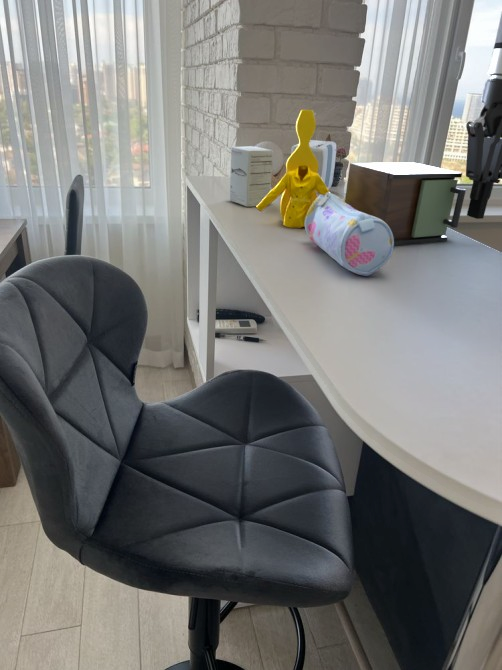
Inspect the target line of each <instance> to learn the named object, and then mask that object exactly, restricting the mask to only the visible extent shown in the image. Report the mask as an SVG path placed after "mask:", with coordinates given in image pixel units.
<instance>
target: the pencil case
mask: <svg viewBox="0 0 502 670" xmlns="http://www.w3.org/2000/svg"><path fill="white" fill-rule="evenodd" d="M304 229H305V232H306V234H307V236H308V238H309V239H310V240H311V242H313V243H314V244H315V245H316V246H317V247H319V249H321V250H323V252H325V253H326V254H327V255H328V256H329V257H330V258H331V259H333V260H334V261H335V262H337V263H338V264H339V265H340V266H341V267H343V268H344V269H346V270H348V271H350V272H352V273H354V274H356V275H359V276H363V277H366V276H371V275H372V274H374V273H376V272H377V271H379V270H380V269H381V268H382V267H383V266H384V265H385V264H386V263H387V262H388V261H389V260H390V258H391V256H392V254H393V251H394V247H395V246H394V238H393V234H392V231H391V229H390V228H389V226H388V225H387V224H386V223H385V222H384V221H383V220H381V219H379V218H377V217H374V216H371V215H368V214H366V213H363V212H360V211H358V210H356V209H354V208H353V207H351V206H350V205H348V204H346V202H345V199H342V197H340V196H338V195H337V194H335V193H331V191H330V192H328V193H326V195H319V197H318V198H316V199H315V201H314V202H313V204H312V205H311V207H310V208H309V210H308V213H307V215H306V219H305V227H304Z"/></svg>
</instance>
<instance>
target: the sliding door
mask: <svg viewBox="0 0 502 670" xmlns="http://www.w3.org/2000/svg"><path fill="white" fill-rule="evenodd" d="M458 181H459V180H458V179H457V178H455V179H432V180H422V184H421V189H420V194H419V199H418V204H417V209H416V215H415V220H414V225H413V230H412V235H411V237H426V236H438V235H442V236H446V234H447V230H448V226H450V228H458V227H459V221H460V217H461V213H462V208H463V204H464V200H465V196H466V192H467V190H466V189H465V188H458V187H457V186H458ZM455 194H456V195H457V196H456V195H455ZM455 196H456V201H455V206H454V210H453V214H452V219H450V217H451V213H452V208H453V204H454V199H455Z"/></svg>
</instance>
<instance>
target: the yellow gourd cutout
mask: <svg viewBox="0 0 502 670" xmlns="http://www.w3.org/2000/svg"><path fill="white" fill-rule="evenodd" d="M313 113H314V117H315V116H316V115H317V113H316V112H313ZM298 145H299V143H297V144H294V145H292V146H291V149H290V150H291V154H292V153H293V152H294V151H295V150H296V148H297V147H298ZM309 146H310V148H311V150H312V152H313V154H314V156H315V157H316V159H317V161H318V165H319V167H318V172H317V174H319V176H320V177H321V179H322V180H323V182H324V183H325V185H326V187H327V188H328V190H330V189H331V187H332V185H333V181H334V174H335V166H336V159H337V143H336V142H335V141H331V140H316V139H311V140H310V142H309ZM315 191H316V190H315ZM316 195H317V198H318V197H319V194H318V192H317V191H316Z"/></svg>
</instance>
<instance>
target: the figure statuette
mask: <svg viewBox="0 0 502 670" xmlns="http://www.w3.org/2000/svg"><path fill="white" fill-rule="evenodd" d="M314 113H315V112H314V110H313V109H301V110H300V112H299V114H298V117H297V119H296V121H295V122H296V123H295V132H296V135H297V138H298V144H299V145H298V147H297V148H296V150H295V151H294V152H293V153H292V152H291V154H290V156H289V157H288V158H287V160H286V163H285V167H286V168H285V170H286V172H285V174H284V175H283V176H282V177H281V179H280V180H279V182H278V183H277V184H276V185H274V187H273V188H271V191H270V192H269V193H268V194H267V195H266V196H265V198H264V199H263V200H262V201H261V202H260V203H259V205H258V206H255V207H256V209H257V210H258V211H259V212H262V211H264V210H265V209H266V208H267V207H269V205H271V204H272V203H273V202H274V201H275V200H276V199H277V198H279V197H280V196H281V198H280V203H279V209H280V211H279V212H280V216H281V220H282V221H283V226H285V227H286V228H289V229H290V228H292V229H296V228H297V229H298V228H300V229H301V228H303V227H304V228H305V219H306V215H307V213H308V210H309V208H310V207H311V205H312V204H313V202H314V201H315V199H316V198H317V195H316V191H317V192H318V194H319V195H326V193H328V192H330V193H331V191H330V189H328V188H327V187H326V185H325V183H324V182H323V180H322V179H321V177H320V176H319V174H317V172H318V167H319V165H318V161H317V159H316V157H315V156H314V154H313V152H312V150H311V148H310V146H309V142H310V140H312V138H313V136H314V133H315V132H316V131H315V130H316V127H317V126H316V125H317V123H316V122H317V121H316V118H315V116H314ZM315 190H316V191H315Z"/></svg>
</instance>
